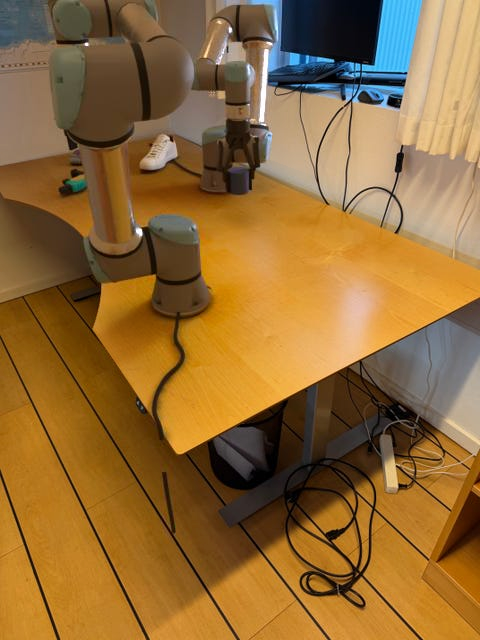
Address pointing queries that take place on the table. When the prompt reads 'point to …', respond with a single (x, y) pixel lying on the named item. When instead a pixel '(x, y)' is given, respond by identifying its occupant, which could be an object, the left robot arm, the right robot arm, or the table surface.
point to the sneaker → (160, 153)
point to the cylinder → (239, 180)
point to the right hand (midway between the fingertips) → (238, 190)
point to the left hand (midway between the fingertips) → (93, 152)
